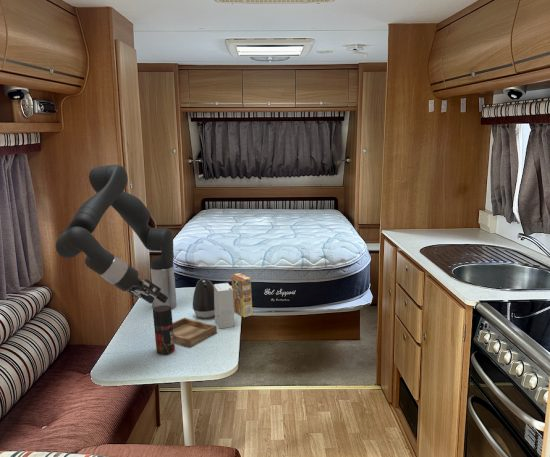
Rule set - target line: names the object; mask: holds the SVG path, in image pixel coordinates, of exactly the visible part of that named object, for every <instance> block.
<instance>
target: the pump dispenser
mask: <svg viewBox="0 0 550 457" xmlns="http://www.w3.org/2000/svg"><path fill="white" fill-rule="evenodd" d="M192 298H193V299H192V310H193V312H194V313H195V315H196V316H197V317H199V318H202V319H208V318H212V317H215V307H214V283H212V281H211V280H210V279H209V278H206V277H205V278H201V279H199V280H198V281H197V282H196V285H195V287H194V293H193V297H192Z"/></svg>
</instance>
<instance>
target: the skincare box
mask: <svg viewBox="0 0 550 457" xmlns="http://www.w3.org/2000/svg"><path fill="white" fill-rule="evenodd" d="M213 286H214V307H215V315H214V322H215V323H216V326H217V327H218V329H226V328H227V329H228V328H233V327H235V315H234V314H235V312H234V303H233V289H232V285H230V284H229V282H222V283H215V284H214V283H213Z"/></svg>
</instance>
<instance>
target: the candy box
mask: <svg viewBox="0 0 550 457" xmlns="http://www.w3.org/2000/svg"><path fill="white" fill-rule="evenodd" d="M230 279H231V288H232V289H233V303H234V313H236V314H237V315H239V316H240V317H243V318H246V317H250V316H253V299H252V282H251V281H252V280H251V277H250V276H247V275H245V274H243V273H240V272H239V273H234V274H231V275H230Z"/></svg>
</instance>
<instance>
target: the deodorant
mask: <svg viewBox="0 0 550 457" xmlns="http://www.w3.org/2000/svg"><path fill="white" fill-rule="evenodd" d="M172 311H173V310H172V309H171V306H167V305H162V306H157V307H155V308H154V307H153V308H152V317H153V318H152V319H153V328H154V338H155V350H156V354H157V355H160V356H167V355H171V354H173V353H175V350H176V347H175V346H176V345H175V343H174V334H173V323H174V322H173V314H172V313H173V312H172Z"/></svg>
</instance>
